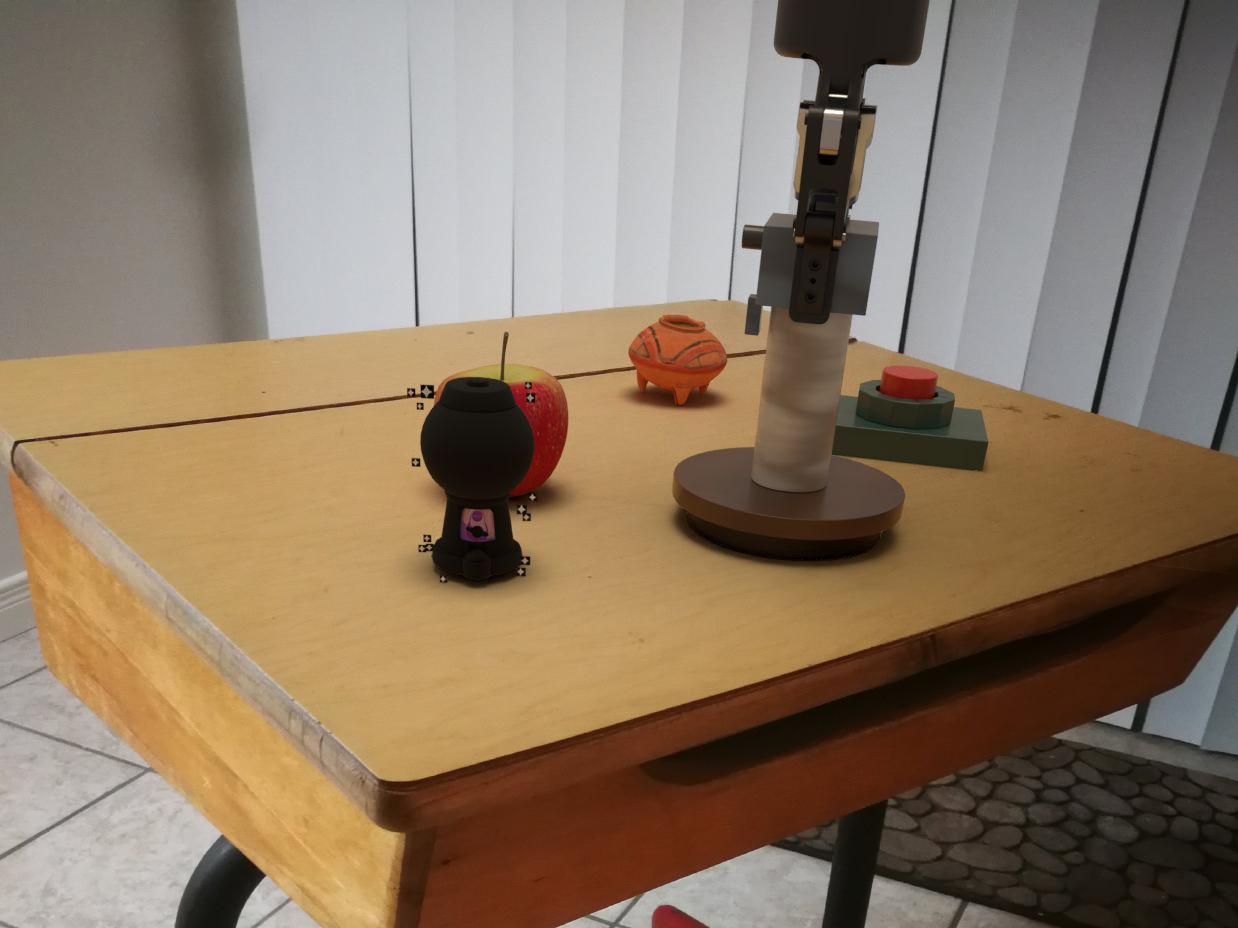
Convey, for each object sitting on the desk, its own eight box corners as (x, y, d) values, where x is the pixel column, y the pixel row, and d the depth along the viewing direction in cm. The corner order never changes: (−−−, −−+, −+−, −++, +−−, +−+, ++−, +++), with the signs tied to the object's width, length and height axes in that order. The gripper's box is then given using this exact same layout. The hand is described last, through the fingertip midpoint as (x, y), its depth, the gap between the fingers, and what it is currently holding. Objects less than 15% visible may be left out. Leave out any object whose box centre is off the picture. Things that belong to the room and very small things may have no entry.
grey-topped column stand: (901, 479, 82) (949, 219, 74) (902, 553, 71) (958, 253, 62) (688, 455, 84) (711, 198, 76) (655, 523, 73) (678, 228, 64)
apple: (441, 514, 76) (438, 340, 71) (429, 471, 83) (425, 309, 78) (576, 513, 78) (583, 342, 73) (553, 470, 85) (558, 312, 80)
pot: (675, 375, 108) (696, 296, 104) (730, 420, 104) (755, 340, 99) (599, 381, 104) (618, 299, 99) (654, 428, 100) (676, 344, 95)
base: (881, 506, 83) (885, 486, 82) (879, 571, 73) (883, 550, 72) (699, 485, 84) (701, 465, 83) (672, 546, 74) (674, 524, 73)
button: (933, 393, 94) (937, 368, 94) (934, 406, 91) (939, 380, 90) (878, 387, 95) (883, 362, 94) (878, 400, 92) (882, 375, 91)
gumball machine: (408, 586, 67) (402, 391, 61) (415, 546, 72) (410, 362, 66) (536, 590, 67) (542, 397, 62) (534, 549, 72) (538, 368, 67)
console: (975, 438, 98) (987, 385, 96) (982, 472, 90) (994, 415, 88) (820, 421, 99) (827, 368, 97) (813, 453, 92) (821, 397, 90)
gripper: (941, -55, 56) (876, 344, 65) (933, -40, 68) (879, 296, 77) (772, -65, 57) (731, 330, 66) (794, -49, 69) (757, 284, 78)
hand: (811, 310), depth 72 cm, fingers closed on grey-topped column stand, 5 cm apart
